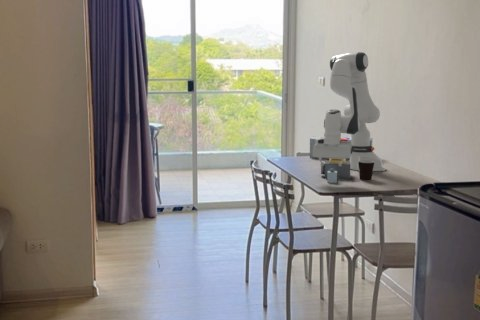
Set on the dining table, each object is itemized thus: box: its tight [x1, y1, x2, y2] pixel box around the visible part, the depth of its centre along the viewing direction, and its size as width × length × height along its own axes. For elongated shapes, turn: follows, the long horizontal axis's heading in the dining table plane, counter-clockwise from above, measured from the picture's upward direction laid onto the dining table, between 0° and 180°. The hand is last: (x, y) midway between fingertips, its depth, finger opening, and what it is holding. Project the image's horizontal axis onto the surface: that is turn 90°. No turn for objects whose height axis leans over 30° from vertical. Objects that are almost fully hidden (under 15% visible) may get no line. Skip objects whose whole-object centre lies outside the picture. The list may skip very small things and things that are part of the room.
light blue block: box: [326, 169, 338, 184], centre depth 313 cm, size 5×5×7 cm
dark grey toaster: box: [320, 158, 351, 180], centre depth 328 cm, size 16×11×10 cm
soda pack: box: [309, 135, 373, 160], centre depth 388 cm, size 41×13×14 cm, turn 74°
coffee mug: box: [358, 160, 374, 182], centre depth 320 cm, size 12×9×10 cm
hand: (331, 165), depth 312 cm, fingers open, 8 cm apart
